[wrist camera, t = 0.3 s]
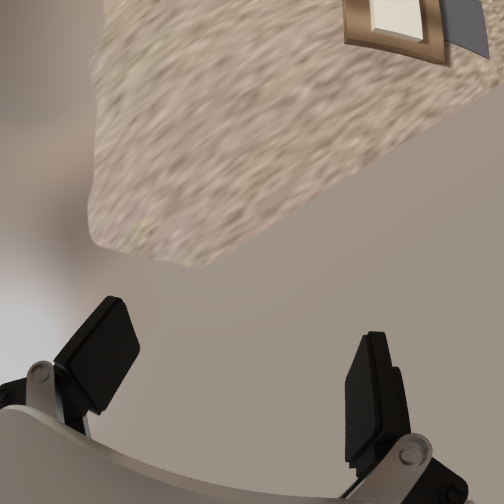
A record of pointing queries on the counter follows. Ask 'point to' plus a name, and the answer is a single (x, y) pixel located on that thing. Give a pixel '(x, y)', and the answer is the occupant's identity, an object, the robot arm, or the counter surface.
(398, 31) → the white rectangular block
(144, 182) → the counter surface
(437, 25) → the brown square plate
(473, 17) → the mat
